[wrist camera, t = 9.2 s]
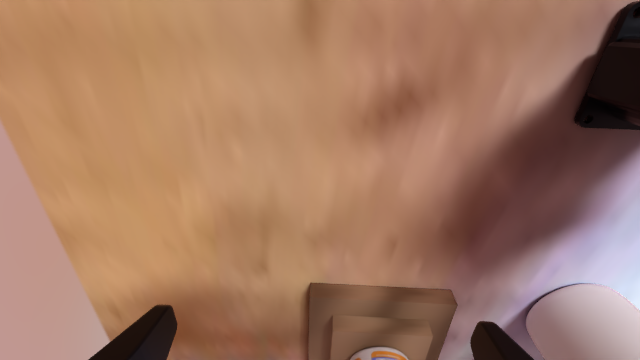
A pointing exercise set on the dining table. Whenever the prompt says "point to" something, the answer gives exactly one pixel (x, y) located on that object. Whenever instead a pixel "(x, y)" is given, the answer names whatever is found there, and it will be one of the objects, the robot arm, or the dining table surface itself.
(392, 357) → the pill bottle
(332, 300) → the walnut stand
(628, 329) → the pill bottle
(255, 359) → the dining table surface
